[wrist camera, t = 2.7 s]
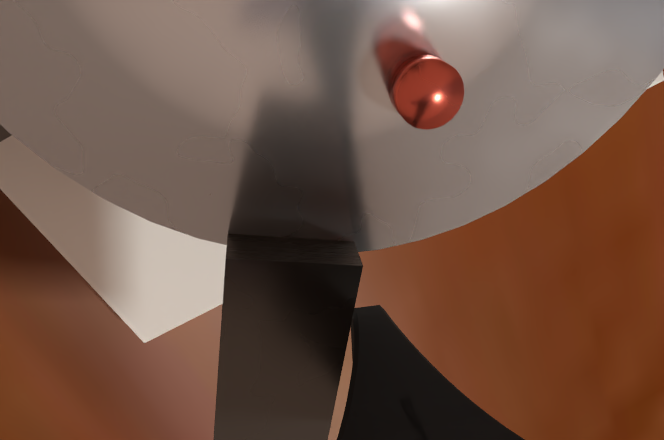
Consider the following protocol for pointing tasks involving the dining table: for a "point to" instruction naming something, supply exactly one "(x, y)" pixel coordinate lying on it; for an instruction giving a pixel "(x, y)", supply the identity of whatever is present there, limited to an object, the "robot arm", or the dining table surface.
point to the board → (119, 246)
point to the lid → (314, 142)
